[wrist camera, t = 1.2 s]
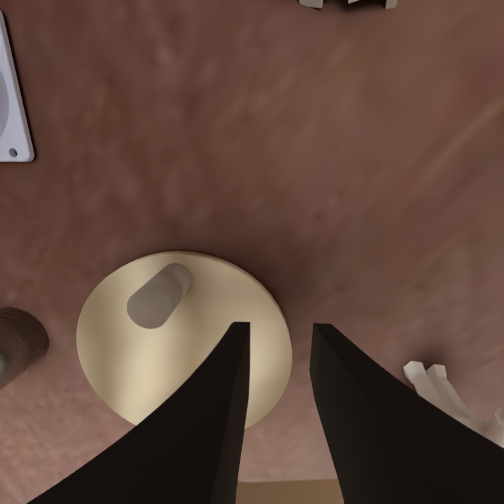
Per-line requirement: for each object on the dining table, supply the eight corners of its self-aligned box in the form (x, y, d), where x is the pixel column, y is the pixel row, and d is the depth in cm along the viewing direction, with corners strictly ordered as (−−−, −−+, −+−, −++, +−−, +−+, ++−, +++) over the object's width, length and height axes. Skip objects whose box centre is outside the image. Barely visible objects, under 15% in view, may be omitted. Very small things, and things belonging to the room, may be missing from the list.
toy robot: (385, 415, 20) (555, 731, 8) (410, 334, 18) (682, 610, 6) (432, 419, 20) (669, 744, 8) (463, 339, 18) (835, 626, 6)
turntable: (104, 424, 20) (55, 500, 15) (67, 249, 16) (-16, 277, 11) (286, 430, 19) (294, 511, 15) (295, 252, 15) (311, 283, 11)
